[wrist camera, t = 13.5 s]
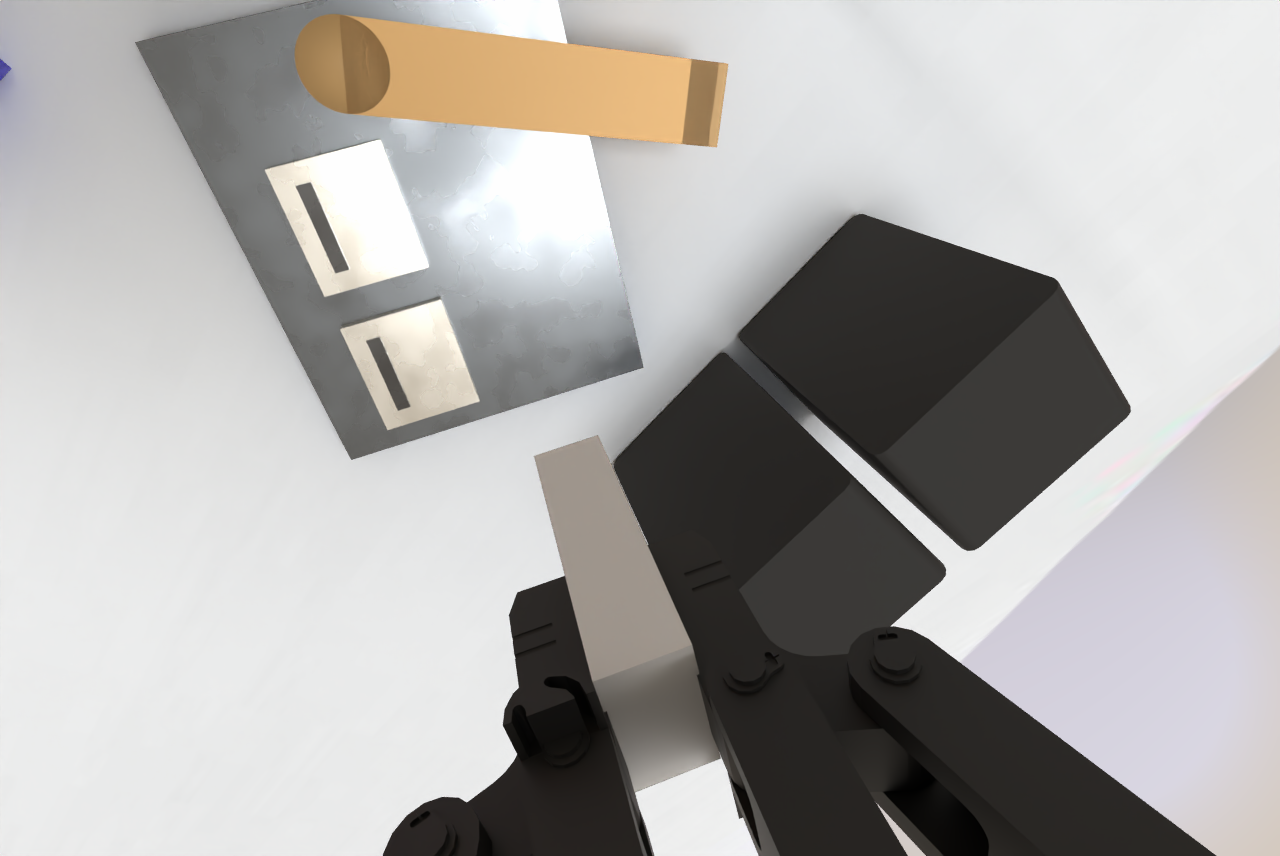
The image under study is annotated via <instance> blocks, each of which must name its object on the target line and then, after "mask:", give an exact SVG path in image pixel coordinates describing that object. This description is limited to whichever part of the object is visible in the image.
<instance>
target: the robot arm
mask: <svg viewBox="0 0 1280 856" xmlns="http://www.w3.org/2000/svg"><path fill="white" fill-rule="evenodd" d="M534 458H535V462H536V466H537V469H538V473H539V477H540V481H541V485H542V489H543V493H544V496H545V500H546V504H547V508H548V512H549V516H550V520H551V524H552V527H553V531H554V535H555V539H556V543H557V547H558V551H559V554H560V558H561V562H562V566H563V570H564V574H565V576H563V577H560V578H558V579H555V580H552V581H549V582H546V583H543V584H540V585H538V586H535V587H532V588H529V589H526V590H523V591H520V592H518V593H517V595H516V597H515V600H514V603H513V606H512V609H511V611H510V614H509V618H510V625H511V633H512V638H513V647H514V654H515V658H516V659H515V662H516V669H517V676H518V684H519V688H518V689H517V690H516V691H515V692H514V693H513V695H512V697H511V699H510V700H509V702H508V704H507V706H506V708H505V711H504V720H503V727H504V729H505V731H506V733H507V735H508V737H509V739H510V741H511V743H512V745H513V747H514V749H515V751H516V753H517V756H516V758H515V760H514V762H513V763H512V764H511V766H510V767H509V768H508V769H507V771H506V772H505V773H504V774H503V775H502V776H501V777H500V778H498V779H497V780H496V781H495V782H494V783H493V784H491V785H490V786H489V787H487V788H486V789H485V790H483V791H482V792H481V793H479V794H478V795H477V796H475V797H474V798H473V799H471V800H470V801H469V802H467V803H466V802H465V801H463V800H461V799H460V798H453V797H441V798H438V799H435V800H432V801H429V802H426V803H424V804H422V805H421V806H420V807H418V808H417V809H415V810H414V811H413V812H411V813H410V814H408V815H407V816H406V817H405V818H404V820H403V821H402V822H401V823H400V825H399V826H398V827H397V828H396V829H395V831H394V832H393V833H392V835H391V838H390V840H389V842H388V844H387V846H386V849H385V851H384V853H383V856H654V853H653V850H652V846H651V843H650V839H649V836H648V832H647V829H646V825H645V823H644V820H643V817H642V815H641V812H640V810H639V806H638V803H637V799H636V795H635V792H637V791H640V790H642V789H645V788H647V787H650V786H652V785H655V784H657V783H660V782H662V781H665V780H667V779H670V778H672V777H675V776H678V775H680V774H683V773H685V772H688V771H690V770H693V769H695V768H698V767H700V766H703V765H705V764H708V763H710V762H713V761H715V760H718V759H720V758H721V757H722V760H723V762H724V764H725V767H726V769H727V771H728V775H729V779H730V783H731V788H732V792H733V796H734V800H735V804H736V808H737V812H738V816H739V819H740V818H742V817H743V818H744V821H745V823H746V826H747V828H748V831H749V833H750V835H751V838H752V840H753V843H754V845H755V848H756V850H757V852H758V855H759V856H908V855H907V854H906V852H905V850H904V849H903V847H902V846H901V844H900V842H899V840H898V839H897V837H896V835H895V834H894V832H893V830H892V829H891V827H890V826H889V824H888V822H887V820H886V819H885V817H884V815H883V814H882V812H881V810H880V809H879V807H878V805H877V804H879V806H880V807H881V808H882V809H883V810H884V811H885V812H886V813H887V814H888V815H889V817H890V818H891V819H892V820H893V821H894V822H895V823H896V824H897V825H898V826H899V827H900V828H901V829H902V830H903V832H904V833H905V834H906V835H907V836H908V837H909V838H910V839H911V840H912V841H913V842H914V843H915V844H916V845H917V846H918V848H919V849H920V850H921V851H922V852H923V853H924V854H925V855H926V856H1216V855H1215V854H1213V853H1212V852H1211V851H1209V850H1208V849H1207V848H1205V847H1204V846H1203V845H1201V844H1200V843H1199V842H1197V841H1196V840H1195V839H1193V838H1192V837H1191V836H1189V835H1188V834H1187V833H1185V832H1184V831H1183V830H1181V829H1180V828H1179V827H1177V826H1176V825H1175V824H1173V823H1172V822H1171V821H1169V820H1168V819H1167V818H1165V817H1164V816H1163V815H1162V814H1160V813H1159V812H1158V811H1156V810H1155V809H1154V808H1152V807H1151V806H1149V805H1148V804H1147V803H1146V802H1144V801H1143V800H1142V799H1140V798H1139V797H1138V796H1136V795H1135V794H1134V793H1132V792H1131V791H1130V790H1128V789H1127V788H1126V787H1124V786H1123V785H1122V784H1120V783H1119V782H1118V781H1116V780H1115V779H1114V778H1112V777H1111V776H1110V775H1108V774H1107V773H1106V772H1104V771H1103V770H1102V769H1100V768H1099V767H1098V766H1096V765H1095V764H1094V763H1092V762H1091V761H1090V760H1088V759H1087V758H1086V757H1084V756H1083V755H1082V754H1080V753H1079V752H1078V751H1076V750H1075V749H1074V748H1073V747H1071V746H1070V745H1069V744H1067V743H1066V742H1064V741H1063V740H1062V739H1061V738H1059V737H1058V736H1057V735H1055V734H1054V733H1053V732H1051V731H1050V730H1049V729H1047V728H1046V727H1045V726H1043V725H1042V724H1041V723H1039V722H1038V721H1037V720H1035V719H1034V718H1033V717H1031V716H1030V715H1029V714H1027V713H1026V712H1024V711H1023V710H1022V709H1021V708H1019V707H1018V706H1017V705H1015V704H1014V703H1013V702H1011V701H1010V700H1009V699H1007V698H1006V697H1005V696H1003V695H1002V694H1001V693H999V692H998V691H997V690H995V689H994V688H993V687H991V686H990V685H989V684H987V683H986V682H985V681H984V680H982V679H981V678H980V677H978V676H977V675H976V674H974V673H973V672H971V671H970V670H969V669H968V668H966V667H965V666H963V665H962V664H961V663H960V662H958V661H957V660H956V659H954V658H953V657H952V656H950V655H949V654H948V653H946V652H945V651H944V650H942V649H941V648H940V647H938V646H937V645H936V644H934V643H933V642H932V641H930V640H929V639H928V638H926V637H924V636H922V635H920V634H918V633H916V632H914V631H913V630H909V629H904V628H899V627H894V626H893V627H881V628H875V629H872V630H870V631H868V632H865V633H863V634H861V635H860V636H859V637H858V638H857V639H856V640H855V641H854V642H853V643H852V644H851V646H850V650H849V653H848V654H840V655H827V656H804V655H799V654H794V653H791V652H789V651H786V650H784V649H782V648H780V647H778V646H777V645H776V644H774V643H773V642H772V641H770V639H769V638H768V637H767V636H766V634H765V633H764V632H763V630H762V628H761V627H760V625H759V623H758V622H757V620H756V618H755V616H754V615H753V613H752V611H751V610H750V608H749V606H748V604H747V603H746V601H745V599H744V598H743V596H742V594H741V593H740V591H739V589H738V587H737V586H736V584H735V582H734V581H733V579H731V576H730V574H729V572H728V570H727V569H726V567H725V565H724V564H723V563H722V560H721V558H720V557H719V555H718V553H717V552H716V550H715V548H714V547H713V545H712V543H711V542H710V541H709V540H707V539H705V538H704V537H702V536H701V535H699V534H698V533H696V532H694V531H693V530H689V531H686V532H684V533H681V534H678V535H675V536H672V537H669V538H667V539H664V540H661V541H658V542H655V543H652V544H649V545H647V543H646V541H645V539H644V537H643V534H642V532H641V530H640V528H639V525H638V523H637V521H636V519H635V517H634V514H633V512H632V510H631V508H630V505H629V503H628V501H627V499H626V497H625V494H624V492H623V490H622V488H621V485H620V483H619V481H618V479H617V477H616V474H615V472H614V470H613V468H612V465H611V463H610V461H609V459H608V456H607V454H606V452H605V450H604V448H603V445H602V443H601V441H600V439H599V436H598V435H597V436H594V437H591V438H588V439H585V440H582V441H579V442H575V443H572V444H569V445H566V446H563V447H560V448H557V449H554V450H551V451H548V452H545V453H542V454H539V455H536V456H534ZM719 752H720V753H719ZM720 755H721V757H720ZM876 803H877V804H876Z"/></svg>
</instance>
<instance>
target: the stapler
mask: <svg viewBox="0 0 1280 856" xmlns="http://www.w3.org/2000/svg"><path fill="white" fill-rule="evenodd" d="M11 69H12V68H10V67H9V66H8V65H7V64H6V63H4V62H3V61H2V60H1V59H0V80H1V79H2V78H3V77H4V76H5V75H6V74H7V73H8V72H9V71H10V70H11Z"/></svg>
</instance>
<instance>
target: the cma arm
mask: <svg viewBox="0 0 1280 856" xmlns="http://www.w3.org/2000/svg"><path fill="white" fill-rule="evenodd" d="M295 64H296V69H297V72H298V75H299V77H300V80H301V81H302V83H303V85H304V87H305V88H306V89H307V91H308V92H309V93H310V94H311V95H312V97H314V98H315V99H316V100H317V101H318V102H319V103H321V104H322V105H324V106H325V107H327V108H329V109H331V110H333V111H336V112H340V113H345V114H354V115H365V116H376V117H387V118H398V119H409V120H420V121H431V122H443V123H454V124H465V125H476V126H487V127H498V128H509V129H520V130H531V131H542V132H553V133H564V134H576V135H587V136H598V137H609V138H620V139H631V140H642V141H653V142H664V143H675V144H686V145H698V146H709V147H717V143H718V135H719V128H720V121H721V113H722V106H723V99H724V92H725V84H726V77H727V70H728V64H726V63H718V62H710V61H703V60H695V59H687V58H679V57H671V56H663V55H655V54H647V53H640V52H632V51H624V50H616V49H608V48H600V47H592V46H584V45H576V44H569V43H561V42H553V41H545V40H537V39H529V38H521V37H513V36H506V35H498V34H490V33H482V32H474V31H466V30H458V29H450V28H442V27H435V26H427V25H419V24H411V23H403V22H395V21H387V20H379V19H372V18H364V17H356V16H348V15H340V14H328V15H323V16H320V17H317V18H315V19H313V20H312V21H310V22H309V23H308V24H307V25H306V26H305V27H304V28H303V29H302V31H301V32H300V34H299V36H298V39H297V41H296V46H295Z"/></svg>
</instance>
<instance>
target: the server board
mask: <svg viewBox="0 0 1280 856" xmlns="http://www.w3.org/2000/svg"><path fill="white" fill-rule="evenodd" d="M328 14H340V15H348V16H356V17H364V18H372V19H379V20H387V21H395V22H403V23H411V24H419V25H427V26H435V27H442V28H450V29H458V30H466V31H474V32H482V33H490V34H498V35H506V36H513V37H521V38H529V39H537V40H545V41H553V42H561V43H567V39H566V35H565V31H564V26H563V22H562V18H561V14H560V9H559V5H558V1H557V0H315V1H311V2H307V3H302V4H298V5H294V6H289V7H285V8H281V9H276V10H272V11H268V12H264V13H259V14H255V15H251V16H246V17H242V18H238V19H233V20H229V21H225V22H221V23H216V24H212V25H208V26H203V27H199V28H195V29H190V30H186V31H182V32H177V33H173V34H169V35H165V36H160V37H156V38H152V39H147V40H143V41H139V42H135V43H136V45H137V47H138V49H139V51H140V53H141V55H142V56H143V58H144V60H145V62H146V64H147V66H148V68H149V70H150V72H151V74H152V76H153V78H154V80H155V82H156V84H157V85H158V87H159V89H160V91H161V93H162V95H163V97H164V99H165V101H166V103H167V105H168V107H169V109H170V111H171V113H172V114H173V116H174V118H175V120H176V122H177V124H178V126H179V128H180V130H181V132H182V134H183V136H184V138H185V140H186V141H187V143H188V145H189V147H190V149H191V151H192V153H193V155H194V157H195V159H196V161H197V163H198V165H199V167H200V169H201V170H202V172H203V174H204V176H205V178H206V180H207V182H208V184H209V186H210V188H211V190H212V192H213V194H214V196H215V197H216V199H217V201H218V203H219V205H220V207H221V209H222V211H223V213H224V215H225V217H226V219H227V221H228V223H229V225H230V226H231V228H232V230H233V232H234V234H235V236H236V238H237V240H238V242H239V244H240V246H241V248H242V250H243V252H244V253H245V255H246V257H247V259H248V261H249V263H250V265H251V267H252V269H253V271H254V273H255V275H256V277H257V279H258V281H259V282H260V284H261V286H262V288H263V290H264V292H265V294H266V296H267V298H268V300H269V302H270V304H271V306H272V308H273V310H274V311H275V313H276V315H277V317H278V319H279V321H280V323H281V325H282V327H283V329H284V331H285V333H286V335H287V337H288V338H289V340H290V342H291V344H292V346H293V348H294V350H295V352H296V354H297V356H298V358H299V360H300V362H301V364H302V366H303V367H304V369H305V371H306V373H307V375H308V377H309V379H310V381H311V383H312V385H313V387H314V389H315V391H316V393H317V394H318V396H319V398H320V400H321V402H322V404H323V406H324V408H325V410H326V412H327V414H328V416H329V418H330V420H331V422H332V423H333V425H334V427H335V429H336V431H337V433H338V435H339V437H340V439H341V441H342V443H343V445H344V447H345V449H346V451H347V452H348V454H349V456H350V458H351V460H353V459H356V458H359V457H362V456H365V455H368V454H372V453H375V452H378V451H381V450H384V449H387V448H391V447H394V446H397V445H400V444H403V443H406V442H409V441H413V440H416V439H419V438H422V437H425V436H428V435H432V434H435V433H438V432H441V431H444V430H447V429H451V428H454V427H457V426H460V425H463V424H466V423H469V422H473V421H476V420H479V419H482V418H485V417H488V416H492V415H495V414H498V413H501V412H504V411H507V410H511V409H514V408H517V407H520V406H523V405H526V404H529V403H533V402H536V401H539V400H542V399H545V398H548V397H552V396H555V395H558V394H561V393H564V392H567V391H571V390H574V389H577V388H580V387H583V386H586V385H590V384H593V383H596V382H599V381H602V380H605V379H608V378H612V377H615V376H618V375H621V374H624V373H627V372H631V371H634V370H637V369H640V368H643V363H642V359H641V355H640V350H639V346H638V342H637V337H636V333H635V329H634V325H633V320H632V316H631V312H630V308H629V303H628V299H627V295H626V291H625V286H624V282H623V278H622V274H621V269H620V265H619V261H618V257H617V252H616V248H615V244H614V240H613V235H612V231H611V227H610V222H609V218H608V214H607V210H606V205H605V201H604V197H603V193H602V188H601V184H600V180H599V176H598V171H597V167H596V163H595V159H594V154H593V150H592V146H591V142H590V137H589V136H587V135H576V134H564V133H553V132H542V131H531V130H520V129H509V128H498V127H487V126H476V125H465V124H454V123H443V122H431V121H420V120H409V119H398V118H387V117H376V116H365V115H354V114H345V113H340V112H336V111H333V110H331V109H329V108H327V107H325V106H324V105H322V104H321V103H319V102H318V101H317V100H316V99H315V98H314V97H312V95H311V94H310V93H309V92H308V91H307V89H306V88H305V87H304V85H303V83H302V81H301V80H300V77H299V75H298V72H297V69H296V64H295V46H296V41H297V39H298V36H299V34H300V32H301V31H302V29H303V28H304V27H305V26H306V25H307V24H308V23H309V22H310V21H312V20H313V19H315V18H317V17H320V16H323V15H328Z"/></svg>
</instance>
